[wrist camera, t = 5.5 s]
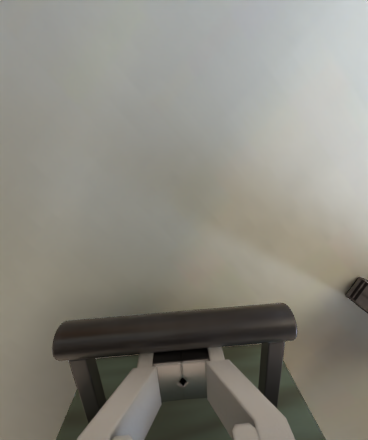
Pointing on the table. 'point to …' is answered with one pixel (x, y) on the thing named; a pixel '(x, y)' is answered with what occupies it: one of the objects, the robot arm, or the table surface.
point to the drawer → (174, 341)
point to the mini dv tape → (359, 293)
